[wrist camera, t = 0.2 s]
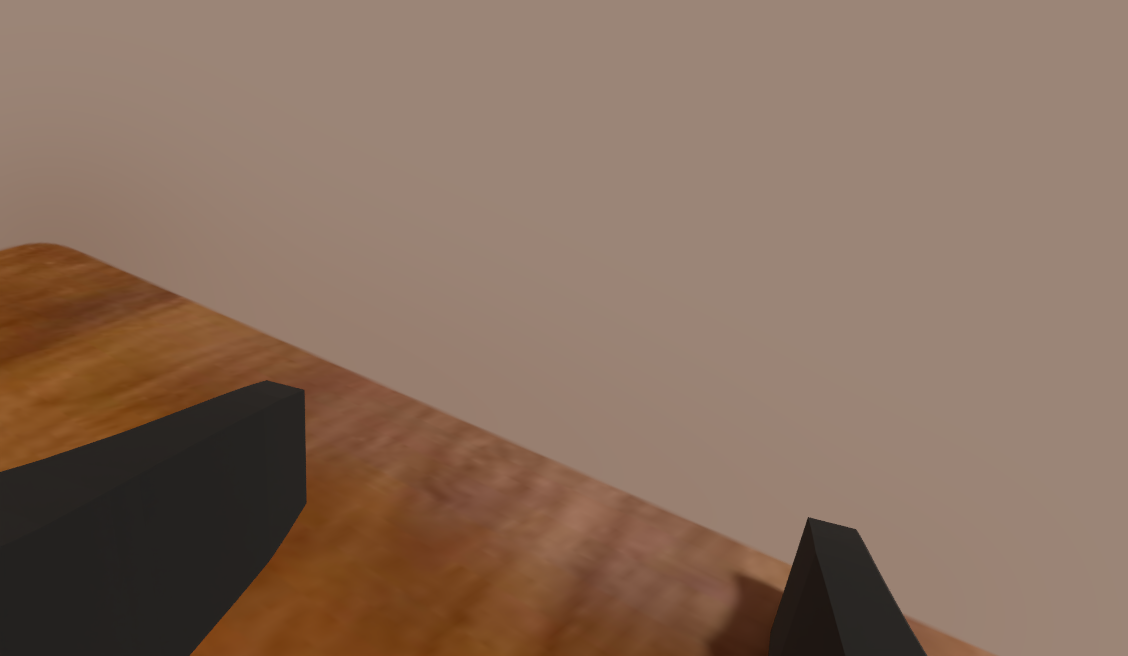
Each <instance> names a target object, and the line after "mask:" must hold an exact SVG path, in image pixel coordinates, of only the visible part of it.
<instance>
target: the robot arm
mask: <svg viewBox="0 0 1128 656" xmlns="http://www.w3.org/2000/svg"><path fill="white" fill-rule="evenodd" d="M305 504H306V448H305V393H304V390H303V389H299V388H295V387H291V386H287V385H283V384H279V383H275V382H271V381H267V380H266V381H263V382H259V383H256V384H253V385H249V386H246V387H243V388H240V389H238V390H235V391H232V392H229V393H226V394H224V395H221V396H218V397H216V398H213V399H210V400H208V401H205V402H202V403H200V404H197V405H194V406H192V407H189V408H186V409H184V410H181V411H179V412H176V413H173V414H171V415H168V416H165V417H163V418H160V419H157V420H155V421H152V422H149V423H147V424H144V425H141V426H139V427H136V428H133V429H131V430H128V431H125V432H122V433H120V434H117V435H114V436H111V437H108V438H105V439H102V440H99V441H96V442H93V443H90V444H87V445H84V446H81V447H78V448H75V449H72V450H69V451H66V452H63V453H60V454H57V455H54V456H51V457H49V458H46V459H42V460H39V461H36V462H33V463H29V464H26V465H23V466H19V467H16V468H12V469H9V470H5V471H2V472H0V656H190V654H191V653H192V652H193V651H194V650H195V649H196V647H197V646H198V645H199V644H200V643H201V642H202V640H203V639H204V638H205V637H206V636H207V634H208V633H209V632H210V631H211V630H212V629H213V627H214V626H215V625H216V624H217V623H218V622H219V620H220V619H221V618H222V617H223V616H224V615H225V613H226V612H227V611H228V610H229V609H230V608H231V606H232V605H233V604H234V603H235V602H236V600H237V599H238V598H239V597H240V596H241V595H242V593H243V592H244V591H245V590H246V589H247V587H248V586H249V585H250V584H251V583H252V581H253V580H254V579H255V578H256V577H257V575H258V574H259V573H260V572H261V571H262V569H263V568H264V567H265V566H266V564H267V563H268V562H269V561H270V559H271V558H272V556H273V555H274V553H275V552H276V550H277V549H278V547H279V546H280V544H281V543H282V541H283V540H284V538H285V537H286V535H287V534H288V532H289V531H290V529H291V527H292V526H293V524H294V522H295V521H296V519H297V518H298V516H299V514H300V513H301V511H302V509H303V508H304V506H305ZM768 656H927V654H926V653H925V651H924V650H923V648H922V646H921V645H920V643H919V641H918V640H917V638H916V636H915V635H914V633H913V631H912V630H911V628H910V626H909V624H908V623H907V621H906V619H905V617H904V616H903V614H902V612H901V610H900V609H899V607H898V605H897V603H896V601H895V600H894V598H893V596H892V594H891V592H890V591H889V589H888V587H887V585H886V583H885V581H884V580H883V578H882V576H881V574H880V572H879V570H878V569H877V567H876V564H875V563H874V561H873V559H872V557H871V555H870V553H869V551H868V549H867V547H866V545H865V544H864V542H863V540H862V538H861V537H860V535H859V533H858V532H857V530H856V529H853V528H848V527H845V526H841V525H837V524H833V523H829V522H825V521H821V520H817V519H813V518H809V517H808V519H807V522H806V526H805V528H804V532H803V535H802V538H801V541H800V544H799V547H798V550H797V553H796V556H795V559H794V562H793V565H792V568H791V571H790V574H789V577H788V580H787V584H786V587H785V590H784V593H783V596H782V599H781V602H780V605H779V608H778V611H777V614H776V617H775V620H774V623H773V627H772V630H771V635H770V645H769V655H768Z"/></svg>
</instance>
